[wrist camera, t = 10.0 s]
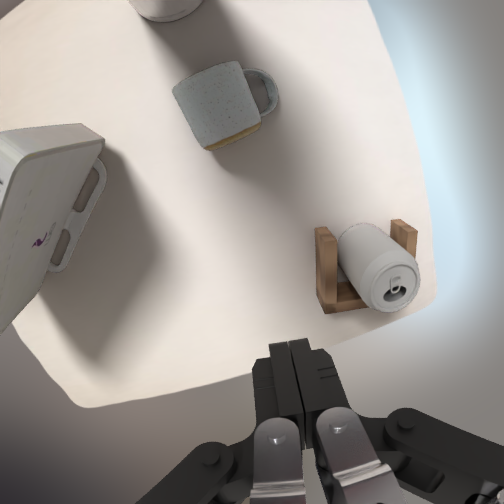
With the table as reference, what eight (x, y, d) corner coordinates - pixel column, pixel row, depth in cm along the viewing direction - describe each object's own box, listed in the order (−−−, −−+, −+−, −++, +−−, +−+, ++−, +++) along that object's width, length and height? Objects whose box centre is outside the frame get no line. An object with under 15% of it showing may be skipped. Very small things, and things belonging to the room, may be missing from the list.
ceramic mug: (206, 152, 37) (201, 158, 30) (176, 93, 34) (164, 85, 27) (287, 115, 36) (302, 113, 29) (259, 56, 33) (266, 40, 26)
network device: (56, 293, 43) (-10, 377, 24) (15, 263, 41) (-61, 332, 22) (128, 145, 36) (39, 171, 17) (76, 112, 33) (-30, 118, 15)
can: (338, 278, 44) (368, 327, 33) (329, 229, 41) (361, 268, 30) (385, 263, 44) (425, 306, 33) (380, 214, 41) (425, 248, 30)
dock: (314, 227, 41) (324, 241, 37) (400, 219, 41) (417, 230, 37) (316, 295, 45) (325, 314, 40) (395, 282, 45) (409, 299, 40)
